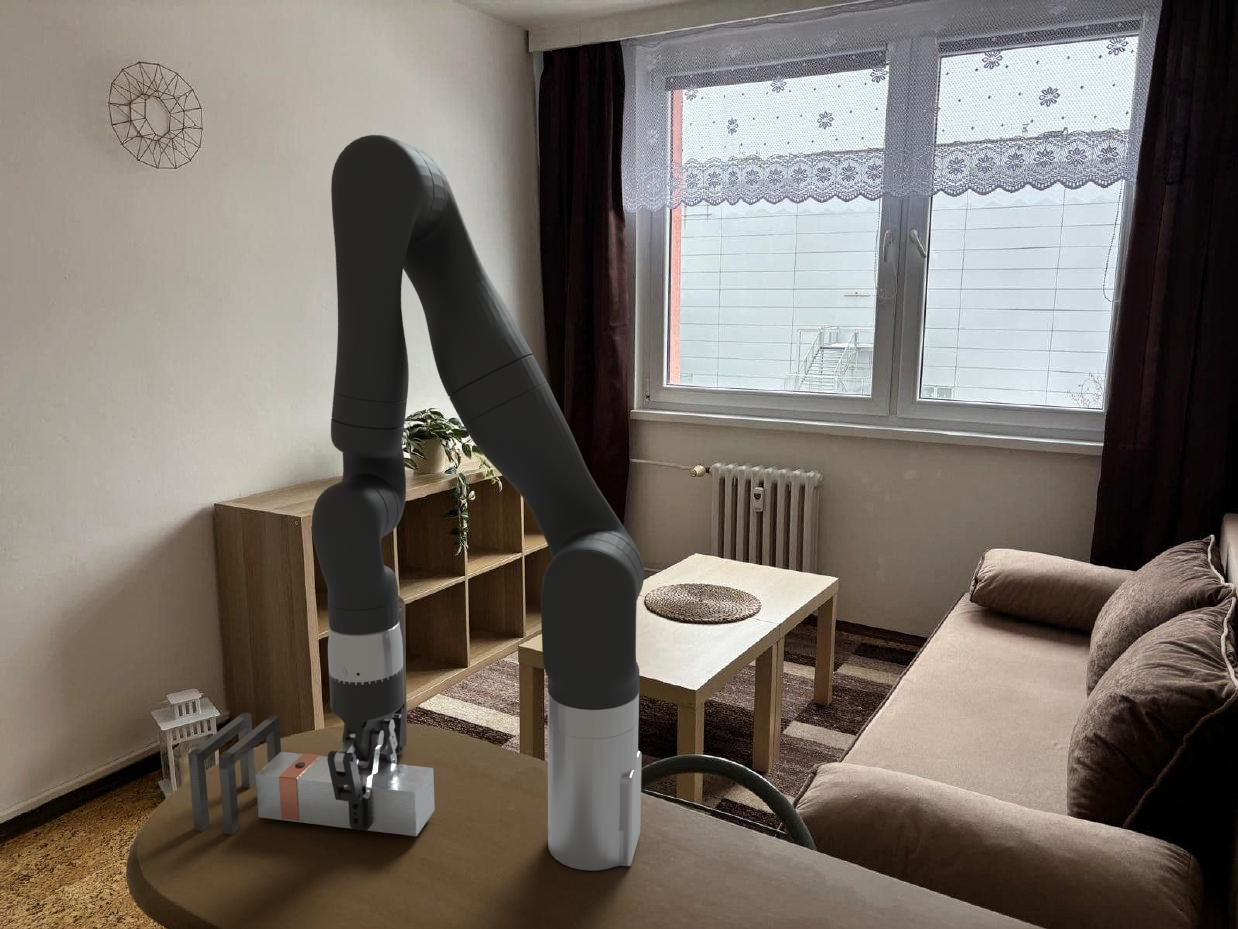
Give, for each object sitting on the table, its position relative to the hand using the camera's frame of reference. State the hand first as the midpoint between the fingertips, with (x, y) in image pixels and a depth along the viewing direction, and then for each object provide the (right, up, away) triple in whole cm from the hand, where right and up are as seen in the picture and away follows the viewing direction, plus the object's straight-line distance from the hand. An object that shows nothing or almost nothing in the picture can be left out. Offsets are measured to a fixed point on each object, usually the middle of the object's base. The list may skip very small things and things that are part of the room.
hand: (372, 812), depth 98 cm
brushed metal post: (-3, 0, +1) cm, 3 cm away
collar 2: (-14, -1, +3) cm, 14 cm away
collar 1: (-17, -1, +3) cm, 18 cm away
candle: (-3, +1, +15) cm, 15 cm away
